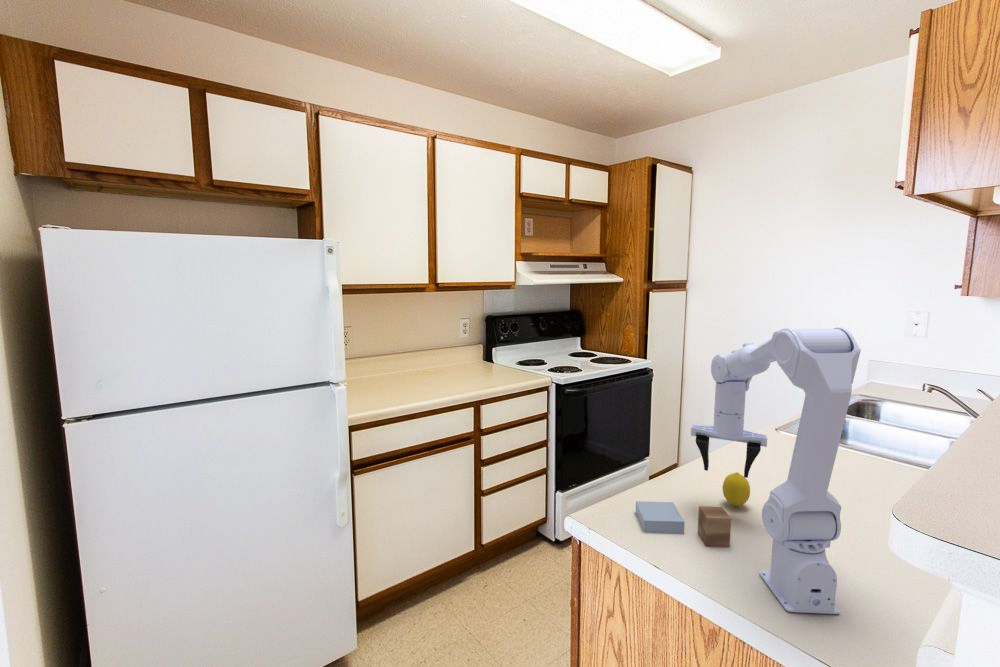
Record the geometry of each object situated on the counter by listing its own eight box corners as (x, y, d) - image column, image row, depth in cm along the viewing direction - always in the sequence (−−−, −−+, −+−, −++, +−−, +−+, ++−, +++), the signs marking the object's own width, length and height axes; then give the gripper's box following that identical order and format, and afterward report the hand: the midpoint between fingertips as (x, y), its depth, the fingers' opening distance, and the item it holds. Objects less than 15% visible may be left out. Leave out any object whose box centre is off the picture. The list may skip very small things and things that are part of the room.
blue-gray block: (684, 535, 94) (684, 521, 94) (643, 534, 95) (644, 520, 94) (672, 515, 102) (672, 502, 102) (635, 513, 103) (635, 501, 102)
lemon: (752, 513, 101) (754, 479, 100) (725, 511, 103) (727, 477, 102) (744, 501, 107) (746, 468, 106) (718, 499, 108) (720, 466, 107)
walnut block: (729, 547, 89) (731, 518, 88) (705, 546, 90) (707, 517, 89) (720, 534, 94) (721, 506, 93) (697, 533, 94) (698, 506, 93)
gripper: (768, 410, 98) (763, 471, 100) (694, 402, 105) (691, 459, 107) (769, 420, 92) (764, 484, 93) (690, 410, 99) (688, 471, 100)
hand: (725, 472), depth 100 cm, fingers open, 7 cm apart
